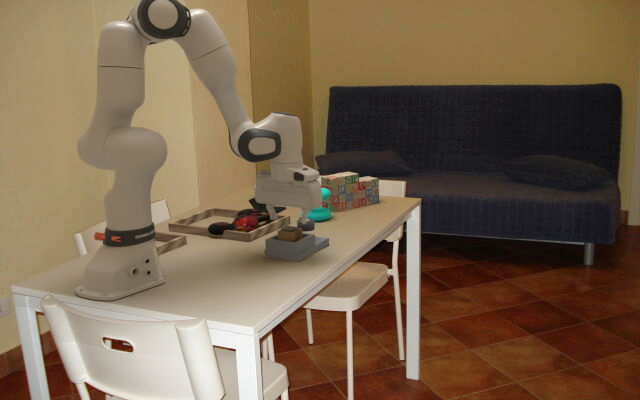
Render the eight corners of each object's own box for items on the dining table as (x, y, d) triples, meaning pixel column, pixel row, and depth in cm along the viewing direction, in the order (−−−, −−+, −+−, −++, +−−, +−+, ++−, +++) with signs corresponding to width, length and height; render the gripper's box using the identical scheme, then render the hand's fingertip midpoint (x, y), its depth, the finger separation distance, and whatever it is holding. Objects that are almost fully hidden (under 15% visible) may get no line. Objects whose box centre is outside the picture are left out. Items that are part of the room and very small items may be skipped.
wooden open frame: (249, 241, 196) (248, 233, 196) (168, 230, 212) (168, 223, 211) (290, 223, 215) (289, 215, 215) (213, 214, 231) (213, 207, 231)
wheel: (309, 232, 186) (308, 223, 185) (294, 230, 188) (293, 221, 188) (317, 227, 190) (317, 218, 189) (303, 226, 192) (302, 217, 192)
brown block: (293, 250, 179) (292, 230, 178) (278, 248, 182) (277, 228, 181) (303, 245, 184) (302, 226, 182) (288, 243, 186) (287, 224, 185)
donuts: (333, 191, 214) (304, 194, 212) (334, 220, 217) (305, 223, 214) (325, 185, 224) (297, 188, 221) (326, 213, 226) (298, 216, 224)
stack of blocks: (368, 200, 244) (368, 167, 241) (379, 203, 239) (379, 170, 236) (321, 210, 232) (320, 175, 229) (332, 213, 227) (330, 178, 224)
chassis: (298, 261, 176) (297, 243, 175) (264, 256, 182) (263, 239, 180) (329, 244, 190) (328, 228, 189) (297, 240, 196) (296, 224, 195)
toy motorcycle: (204, 240, 203) (248, 236, 196) (201, 223, 202) (245, 219, 195) (246, 222, 225) (287, 218, 218) (244, 207, 224) (284, 203, 217)
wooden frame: (151, 258, 184) (150, 249, 184) (103, 250, 193) (102, 241, 193) (186, 243, 197) (186, 235, 196) (140, 236, 206) (139, 229, 205)
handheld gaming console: (277, 212, 225) (260, 188, 226) (262, 224, 227) (245, 201, 228) (288, 208, 236) (272, 186, 237) (273, 220, 238) (257, 198, 239)
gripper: (249, 171, 180) (251, 220, 183) (312, 176, 170) (313, 228, 172) (262, 167, 185) (264, 215, 188) (324, 172, 175) (325, 223, 178)
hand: (288, 221), depth 180 cm, fingers open, 8 cm apart
